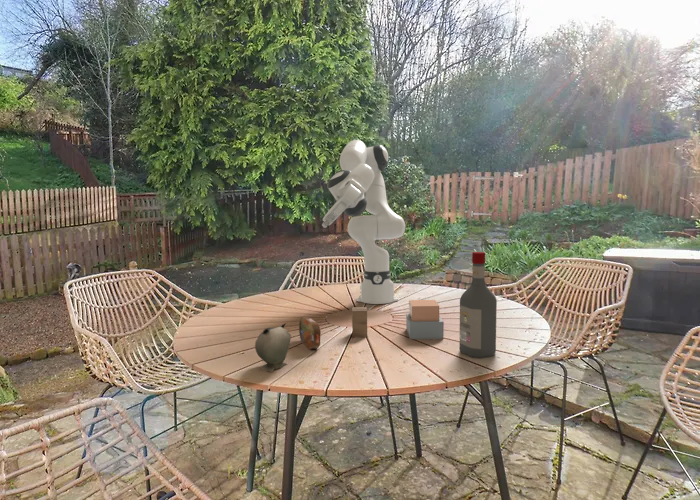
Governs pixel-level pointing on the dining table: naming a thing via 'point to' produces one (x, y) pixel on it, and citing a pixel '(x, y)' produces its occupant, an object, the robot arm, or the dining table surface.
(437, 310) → the tower top
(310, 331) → the tin
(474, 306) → the liquor
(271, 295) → the dining table surface
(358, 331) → the walnut block
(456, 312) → the dining table surface
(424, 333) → the tower base
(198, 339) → the dining table surface
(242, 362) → the dining table surface
